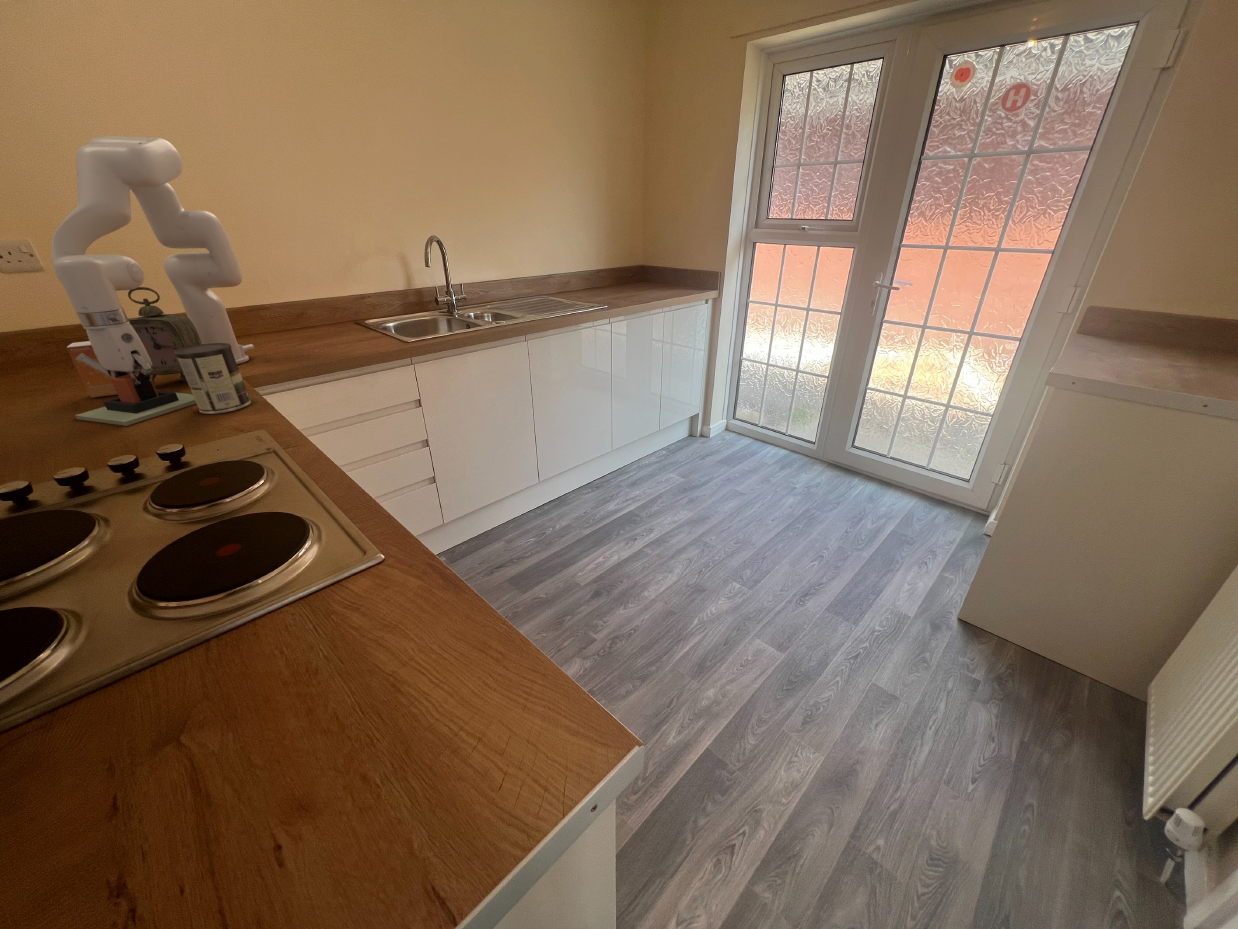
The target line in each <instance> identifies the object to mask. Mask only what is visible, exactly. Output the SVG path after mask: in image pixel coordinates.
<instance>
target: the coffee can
mask: <svg viewBox="0 0 1238 929" xmlns="http://www.w3.org/2000/svg"><path fill="white" fill-rule="evenodd" d="M174 353H175V355H176V356H177V358H178V361H179V363H180V365H181V368H182V370H183V375H185V377H186V382H187V385H188V387H189V389H190V391H191V393H192V394H193V396H194V399H195V401H196V406H197V409H198V412H199V413H201V414H204V415H217V414H224V413H229V412H233V411H237V410H240V409H244V408H246V407H248V406H249V405H251V404H252V401H251V399H250V396H249V394H248V391H247V389H246V386H245V382H244V380H243V377H242V374H241V372H240V369H239V366H238V364H237V363H236V360H235V358H234V355H233V352H232V349H231V345H230V344H228V343H209V344H201V345H194V346H189V347H184V348H181V349H178V350H176V351H175V352H174Z"/></svg>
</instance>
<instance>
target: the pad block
mask: <svg viewBox="0 0 1238 929" xmlns="http://www.w3.org/2000/svg"><path fill="white" fill-rule="evenodd" d="M135 374H136V376H137V377H138V374H139V373H138V372H137V373H135ZM150 378H151V384H152V386H153V388H154V391H155V393H156V395H157V396H159V394H158V392H157V391H158V390H157V387H156V384H155V385H154V383H153V381H152V375H151V376H150ZM111 381H112V383H113V385H114V388H115V390H116V392H117V396H118V398H120V400H121V402H128V403H137V402H140V401H141V400H140V398H139V396H138V394H137V392H136V389H135V387H134V385H135V382H134V381H133V379H132V378H131V376H130V375H129V374H128V375H124V376H120V377H116V378H112V379H111Z"/></svg>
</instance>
